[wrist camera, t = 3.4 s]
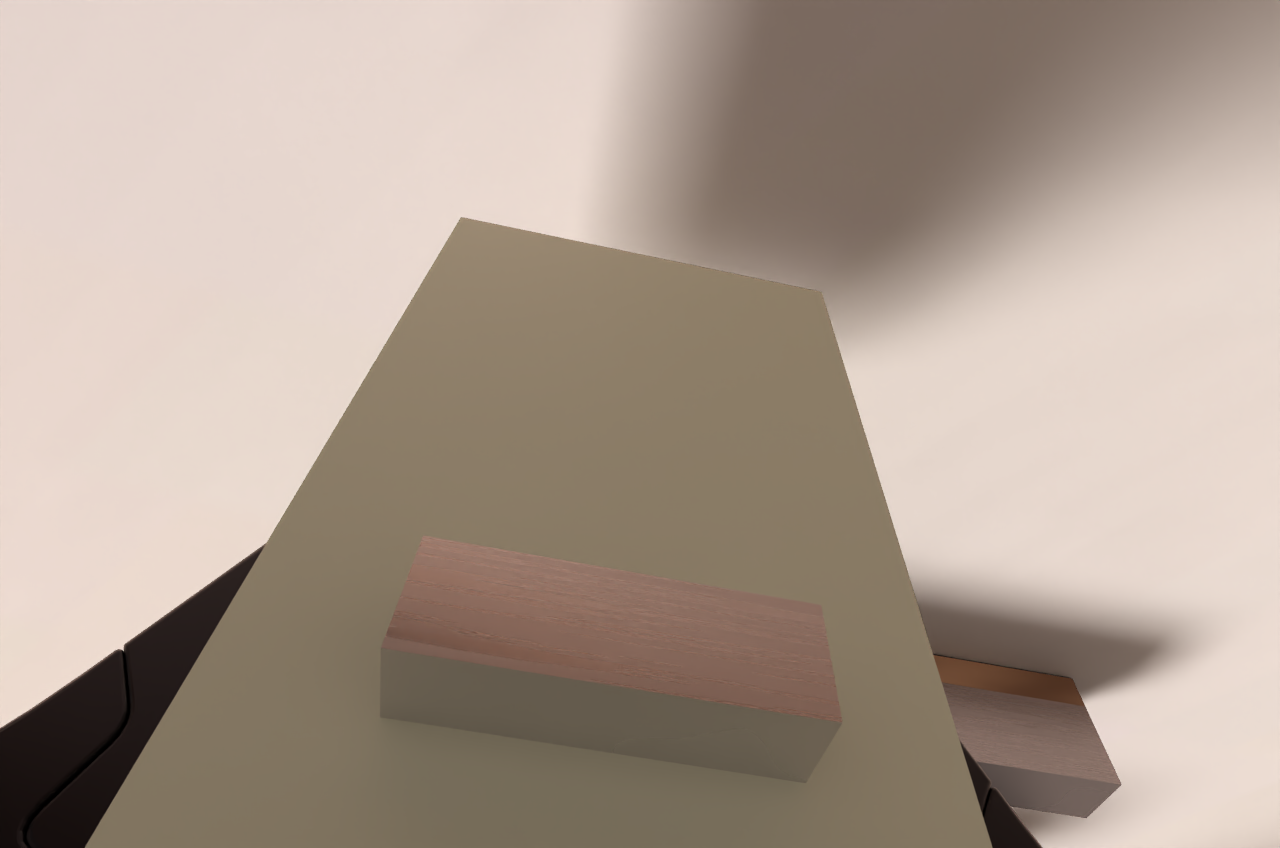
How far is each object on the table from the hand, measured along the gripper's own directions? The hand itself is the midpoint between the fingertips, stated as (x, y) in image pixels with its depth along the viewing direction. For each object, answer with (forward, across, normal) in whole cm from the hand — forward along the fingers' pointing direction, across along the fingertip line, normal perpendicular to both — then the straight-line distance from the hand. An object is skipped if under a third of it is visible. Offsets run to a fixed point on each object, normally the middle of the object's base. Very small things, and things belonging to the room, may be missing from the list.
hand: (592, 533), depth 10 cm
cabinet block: (+2, 0, 0) cm, 2 cm away
